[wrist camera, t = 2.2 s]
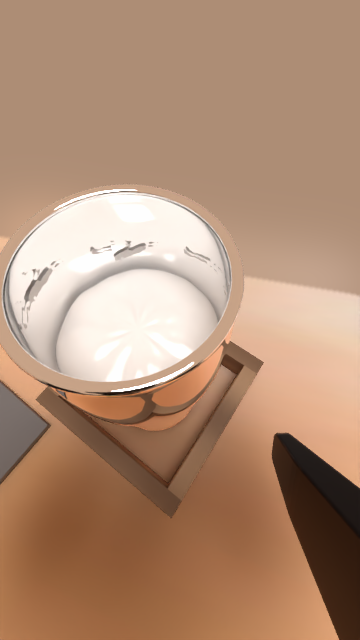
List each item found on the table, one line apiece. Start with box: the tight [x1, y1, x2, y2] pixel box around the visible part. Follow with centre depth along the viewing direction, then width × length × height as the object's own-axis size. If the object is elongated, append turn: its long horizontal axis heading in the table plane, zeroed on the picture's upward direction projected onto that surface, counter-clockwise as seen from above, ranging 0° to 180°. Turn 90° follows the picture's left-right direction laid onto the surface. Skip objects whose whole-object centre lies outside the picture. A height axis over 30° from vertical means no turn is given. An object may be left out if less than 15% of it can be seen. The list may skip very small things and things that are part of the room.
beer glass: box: [0, 184, 244, 431], centre depth 14 cm, size 7×7×15 cm
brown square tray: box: [36, 341, 264, 518], centre depth 19 cm, size 11×11×2 cm
